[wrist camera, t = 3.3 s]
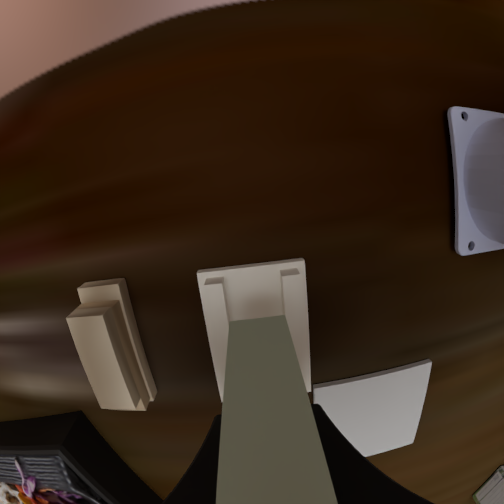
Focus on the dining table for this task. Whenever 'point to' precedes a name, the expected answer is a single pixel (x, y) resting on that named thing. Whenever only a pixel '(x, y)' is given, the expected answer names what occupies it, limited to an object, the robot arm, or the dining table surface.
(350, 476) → the robot arm
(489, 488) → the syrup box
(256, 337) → the grey green block
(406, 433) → the mat
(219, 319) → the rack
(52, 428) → the food platter
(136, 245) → the dining table surface
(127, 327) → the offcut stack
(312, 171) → the dining table surface
